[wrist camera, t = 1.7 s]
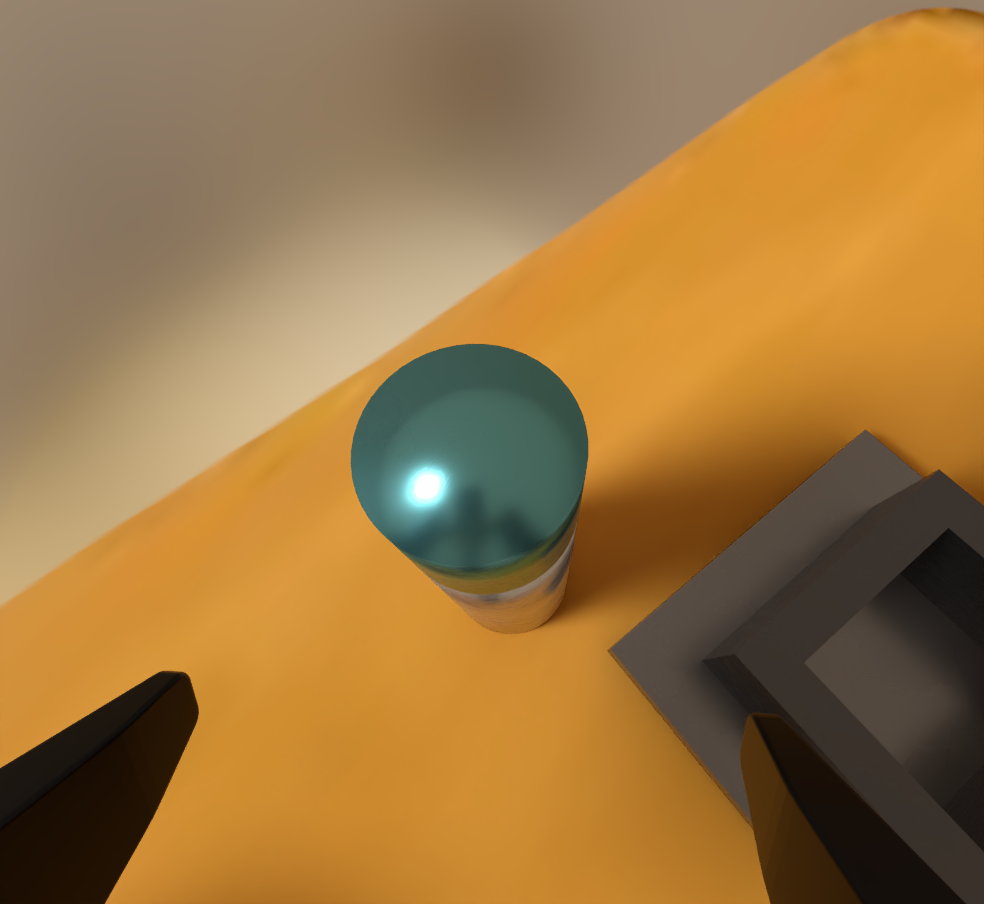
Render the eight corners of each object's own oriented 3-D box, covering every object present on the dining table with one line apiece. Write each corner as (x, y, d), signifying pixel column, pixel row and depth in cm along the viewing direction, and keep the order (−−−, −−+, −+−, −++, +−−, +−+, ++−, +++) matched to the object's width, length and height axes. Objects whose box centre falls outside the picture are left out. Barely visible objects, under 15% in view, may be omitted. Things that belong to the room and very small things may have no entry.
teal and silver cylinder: (590, 584, 20) (640, 460, 9) (500, 658, 20) (439, 619, 9) (519, 500, 22) (489, 306, 11) (433, 566, 21) (307, 432, 10)
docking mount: (1184, 724, 17) (1384, 735, 13) (915, 1028, 15) (1051, 1154, 11) (851, 440, 22) (924, 381, 17) (607, 650, 20) (623, 639, 15)
